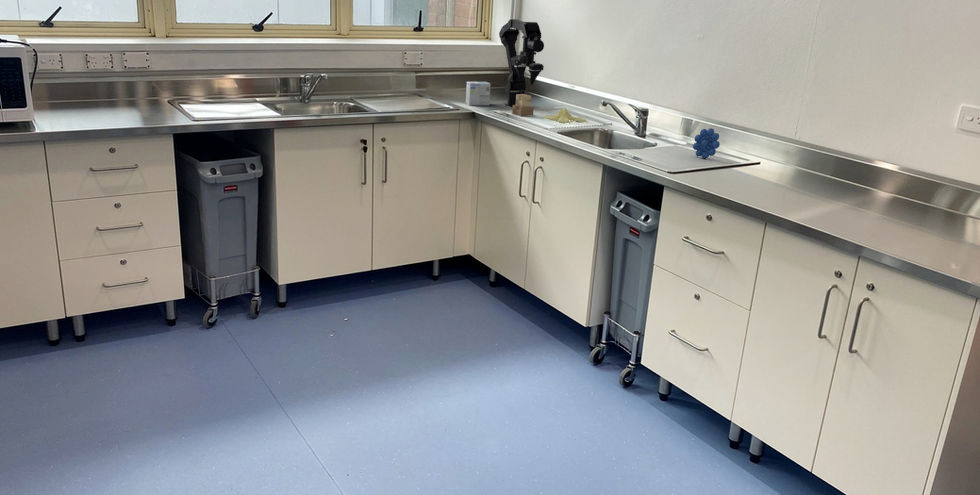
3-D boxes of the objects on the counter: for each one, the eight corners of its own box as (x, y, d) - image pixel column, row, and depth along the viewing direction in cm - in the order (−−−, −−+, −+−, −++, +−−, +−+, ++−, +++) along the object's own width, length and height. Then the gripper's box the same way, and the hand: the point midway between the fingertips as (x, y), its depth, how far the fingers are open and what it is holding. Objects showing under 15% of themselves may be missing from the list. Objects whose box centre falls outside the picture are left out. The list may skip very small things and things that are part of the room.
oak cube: (515, 105, 381) (516, 94, 379) (524, 104, 384) (525, 94, 382) (521, 107, 377) (522, 96, 375) (530, 106, 380) (531, 95, 378)
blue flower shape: (723, 160, 312) (728, 129, 308) (712, 162, 308) (717, 131, 304) (698, 154, 320) (703, 124, 316) (687, 156, 316) (692, 125, 312)
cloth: (594, 123, 376) (595, 109, 374) (568, 126, 363) (569, 112, 361) (557, 115, 390) (558, 102, 388) (531, 118, 378) (532, 104, 375)
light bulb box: (485, 103, 407) (486, 81, 403) (489, 105, 401) (491, 83, 397) (465, 103, 403) (466, 80, 400) (468, 105, 397) (470, 83, 394)
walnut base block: (512, 113, 383) (512, 105, 381) (524, 113, 386) (524, 104, 385) (520, 116, 377) (521, 107, 376) (533, 115, 381) (533, 107, 380)
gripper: (503, 47, 387) (501, 80, 393) (525, 52, 373) (523, 86, 378) (522, 47, 393) (520, 79, 398) (545, 52, 378) (542, 86, 384)
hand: (525, 83), depth 389 cm, fingers open, 9 cm apart
